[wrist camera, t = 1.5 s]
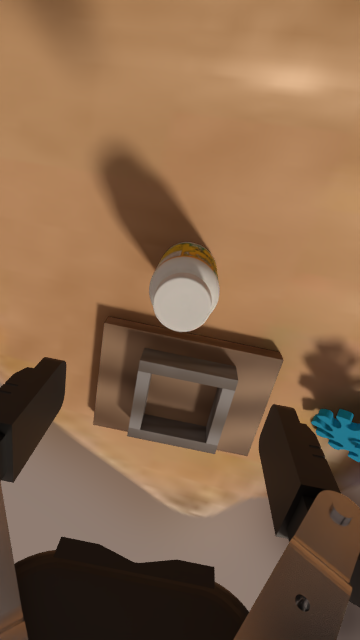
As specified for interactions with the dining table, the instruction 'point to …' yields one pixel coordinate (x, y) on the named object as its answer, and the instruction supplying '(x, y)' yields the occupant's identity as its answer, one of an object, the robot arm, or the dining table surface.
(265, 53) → the dining table surface
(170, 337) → the socket stand
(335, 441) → the gear
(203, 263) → the supplement bottle
